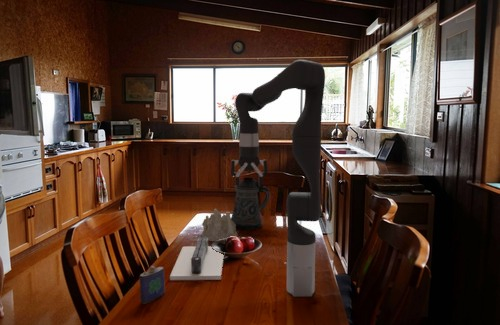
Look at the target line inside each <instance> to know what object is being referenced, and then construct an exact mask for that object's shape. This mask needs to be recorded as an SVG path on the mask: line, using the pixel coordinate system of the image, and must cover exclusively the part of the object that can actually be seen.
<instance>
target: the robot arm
mask: <svg viewBox="0 0 500 325" xmlns="http://www.w3.org/2000/svg"><path fill="white" fill-rule="evenodd" d="M325 84H326V72H325V68H324V66H323V65H322V64H321V63H319V62H316V61H312V60H307V59H296V60H294V61H293V62H291V63H290V64H289V65H287V67H285V68H284V69H283V70H282V71H281V72H280V73H278V74H277V75H276V76H274V77H273V78H272V79H271V80H269V81H267V82H265V83H263V84H261V85H259V86H258V87H256V88H255V89H253V91H252V92H240V93H238V94H237V95H236V97H235V103H234V105H235V109H236V114H237V118H238V121H239V142H238V143H239V145H238V146H239V149H238V150H239V158H238V159H237V160H235V159H231V164H230V175H231V176H233V177H235V186H236V185H237V187H239V183H240V175H242V173H243V172H244V171H245V172H249V171H250V172H254V171H255V172H256V173H257V174H258V181H259V186H261V185H262V184H264V182H263V180H264V178H263V177H264V176H265V177H266V176H268V161H267V159H262V160H261V159H259V157H260V156H259V155H260V154H259V153H260V152H259V148H260V146H259V145H260V140H259V121H258V119H257V118H255V117H252V116H251V115H250V112H258V111H261V110H262V109H263V108H264V107H266V106H267V105H269V104H271V103H273V102H275V101H277V100H278V99H279V98H281V96H282V94H283V92H285V91H287V90H292V89H297V90H300V91H304V105H303V109H302V111H301V112H300V115H299V116H298V118H297V120H296V123H295V124H294V126H293V128H292V135H291V136H292V139H291V141H292V142H291V151H292V154H293V156H294V158H295V160H296V162H297V164H298V166H300V168H301V170H302V171H303V173H304V175H305V178H306V179H307V182H308V185H309V188H310V192H301V191H296V192H295V191H291V192H289V193H288V195H287V199H286V222H287V235H286V243H287V244H286V291H287V293H289V294H290V295H292V297H312V296H313V294H314V293H315V286H316V282H315V281H316V280H315V277H316V276H315V275H316V241H317V240H316V233H315V232H314V231H313V230H312V229H310V228H307V227H305V226H303V225H301V223H299V222H318V221H319V220H320V217H321V212H322V204H321V203H322V200H321V199H322V198H321V194H322V193H321V155H322V152H321V151H322V116H323V115H322V110H323V100H324V91H325ZM237 164H238V165H239V166H240V167H239V169H238V170H237V172H235V167H236V166H237ZM260 164H261V166H262V167H263V172H262V171H261V170H260V169H259V168H258V166H260Z"/></svg>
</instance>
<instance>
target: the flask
mask: <svg viewBox="0 0 500 325" xmlns="http://www.w3.org/2000/svg"><path fill="white" fill-rule="evenodd" d="M139 290H140V304H142V305H145V304H149V303H151V302H154V301H155V300H157V299H159V298H161V297H163V296H164V295H165V294H166V293H165V292H166V288H165V267H163V266H158V267H157V266H154V265H150V269H149V270H148V271H146V272H144V271H143V273H140V275H139Z"/></svg>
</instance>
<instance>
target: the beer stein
mask: <svg viewBox="0 0 500 325" xmlns="http://www.w3.org/2000/svg"><path fill="white" fill-rule="evenodd" d="M263 184H264V183H263ZM263 184H262V185H261V186H259V180H255V178H253V177H243V178H242V180H241V181H239V187H237V185H236V184H235V187H234V188H235V193H236V194H235V200H234V204H233V205H234V206H233V210H232V215H231V216H230V217H231V220H232V221H233V222H234V223H235V225H236V226H235V227H236V231H237V230H239V231H255V230H259V229H260V228H261V227H262V224H263V218H262V216H261V212H262V211H263V210H264V208H266V207H267V205H268V203H269V202H270V199H271V192H270V189H269V188H267V187H266V185H265V186H264V185H263ZM259 193H264V196H265V198H264V199H263V200H264V201H262V202H261V204H259V195H258V194H259Z"/></svg>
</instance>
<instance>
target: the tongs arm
mask: <svg viewBox="0 0 500 325" xmlns="http://www.w3.org/2000/svg"><path fill="white" fill-rule="evenodd" d="M202 240H203V237H202V236H201V237H198V238H197V241H196V242H197V243H196V245H195V246H196V248H195V251H194V254H193V256H192V258H193V257H198V253H199V250H200V247H201V244H202Z"/></svg>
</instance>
